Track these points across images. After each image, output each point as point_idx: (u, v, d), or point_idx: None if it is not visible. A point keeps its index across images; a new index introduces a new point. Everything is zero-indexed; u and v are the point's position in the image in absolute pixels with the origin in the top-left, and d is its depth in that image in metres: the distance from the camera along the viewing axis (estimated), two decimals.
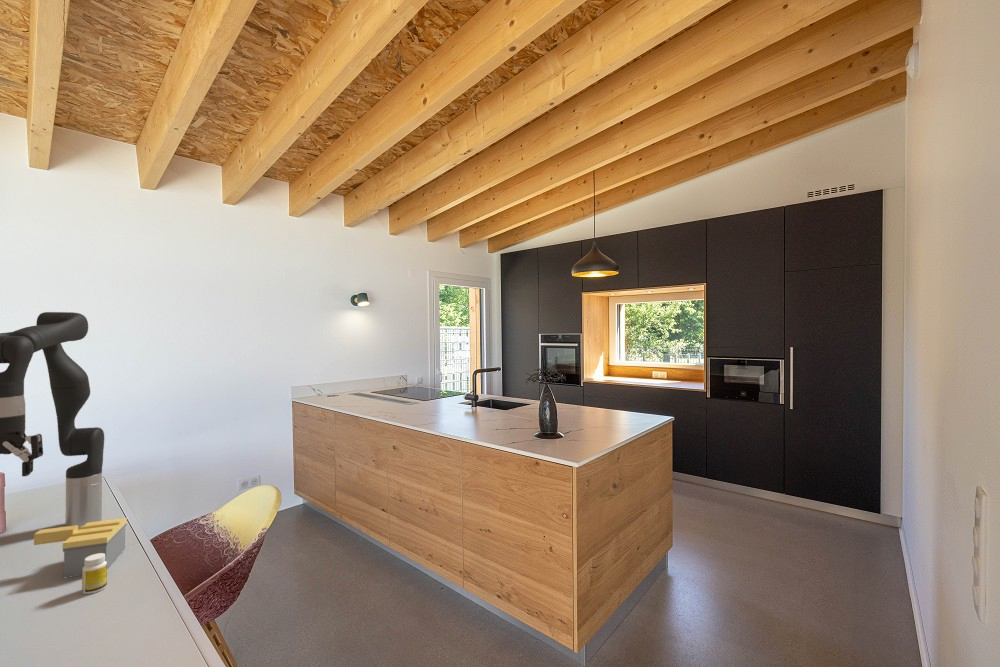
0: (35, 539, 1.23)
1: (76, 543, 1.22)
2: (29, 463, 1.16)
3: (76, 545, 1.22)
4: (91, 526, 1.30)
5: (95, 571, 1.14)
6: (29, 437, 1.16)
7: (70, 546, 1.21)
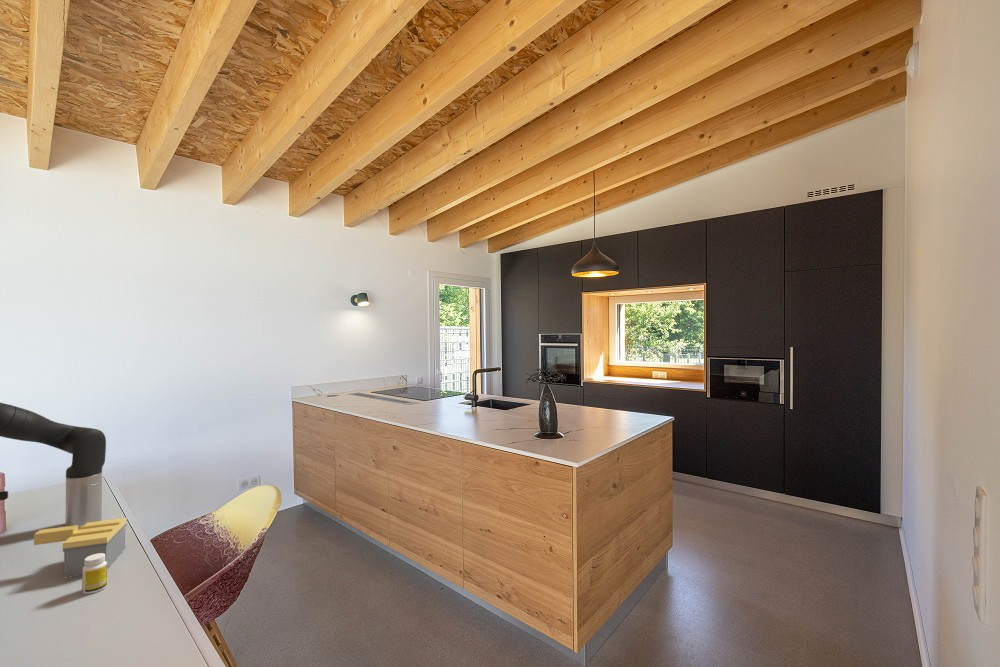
0: (35, 539, 1.23)
1: (76, 543, 1.22)
2: None
3: (76, 545, 1.22)
4: (91, 526, 1.30)
5: (95, 571, 1.14)
6: None
7: (70, 546, 1.21)
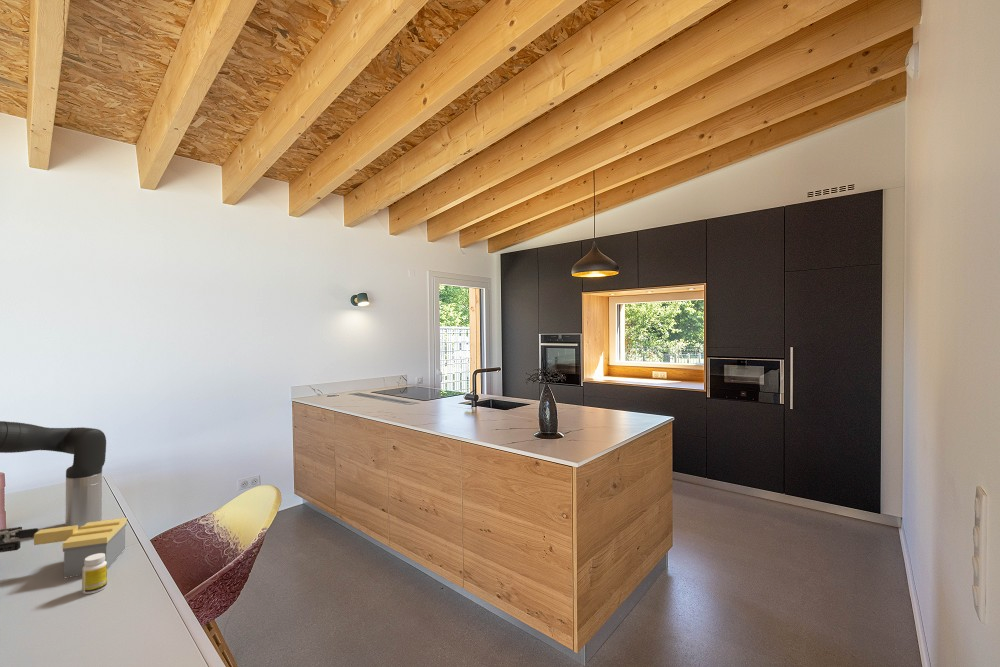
0: (35, 539, 1.23)
1: (76, 543, 1.22)
2: (1, 551, 1.17)
3: (76, 545, 1.22)
4: (91, 526, 1.30)
5: (95, 571, 1.14)
6: None
7: (70, 546, 1.21)
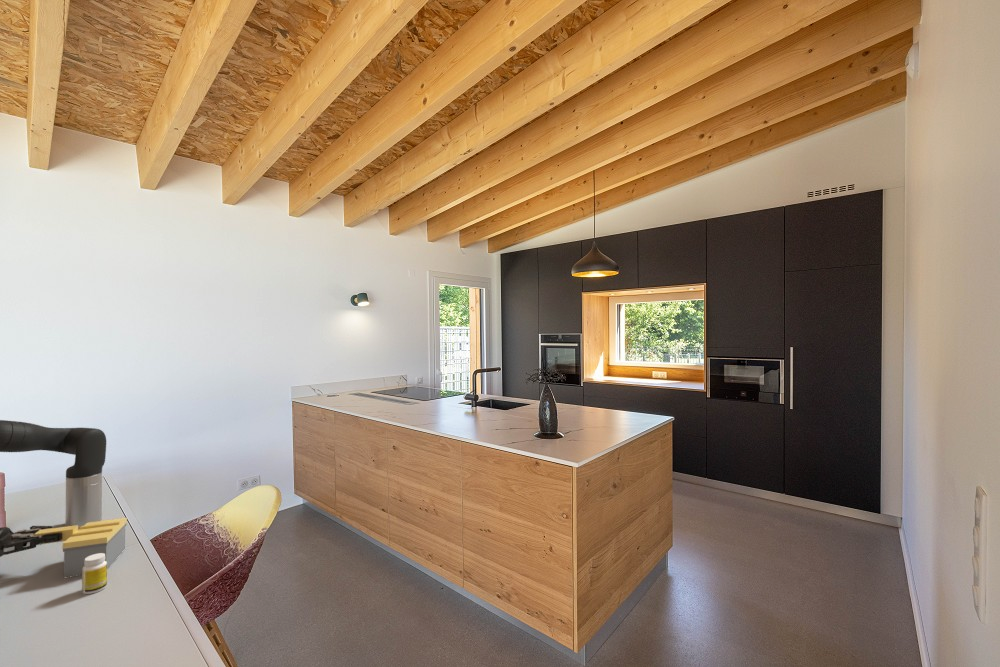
0: None
1: (76, 543, 1.22)
2: (44, 542, 1.23)
3: (76, 545, 1.22)
4: (91, 526, 1.30)
5: (95, 571, 1.14)
6: None
7: (70, 546, 1.21)
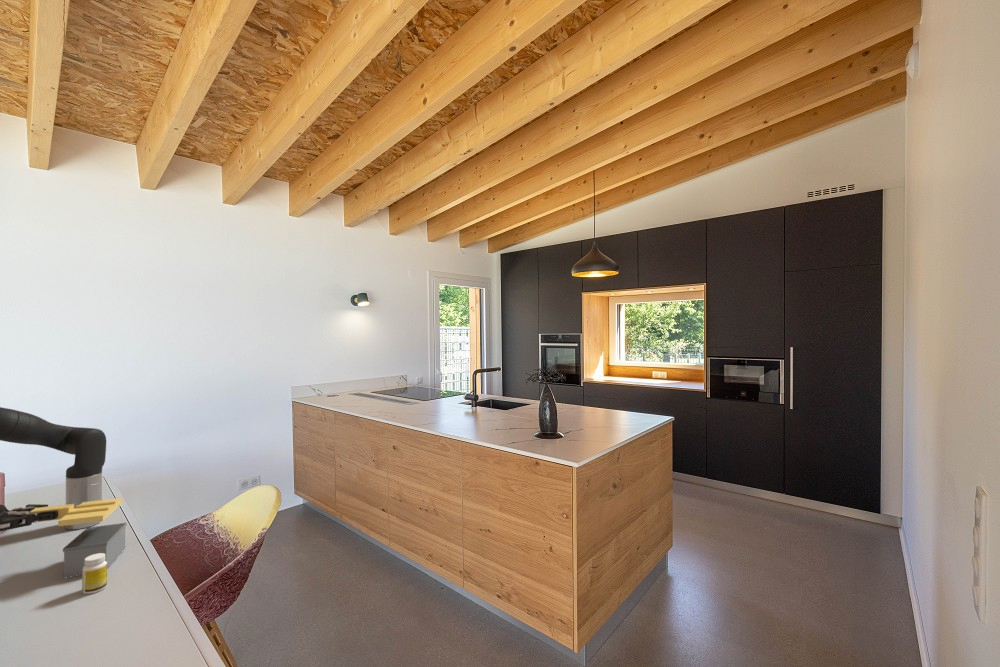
0: None
1: (72, 521, 1.21)
2: (40, 520, 1.22)
3: (72, 523, 1.21)
4: (87, 505, 1.30)
5: (95, 571, 1.14)
6: None
7: (66, 524, 1.21)
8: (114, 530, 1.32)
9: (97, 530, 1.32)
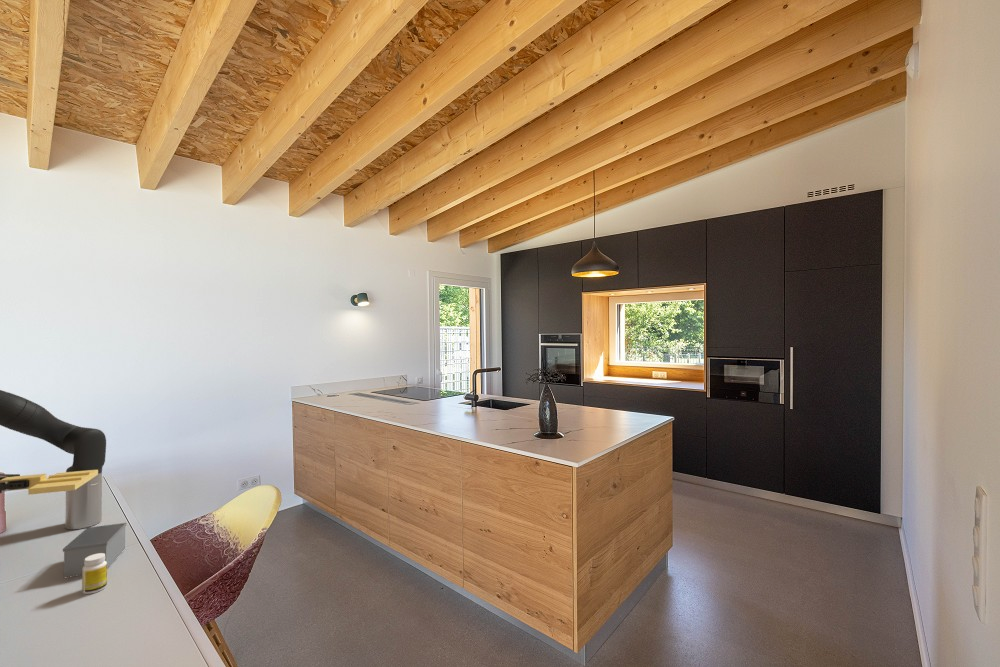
0: None
1: (43, 489, 1.19)
2: (10, 488, 1.20)
3: (43, 491, 1.19)
4: (60, 475, 1.28)
5: (95, 571, 1.14)
6: None
7: (37, 492, 1.19)
8: (114, 530, 1.32)
9: (97, 530, 1.32)
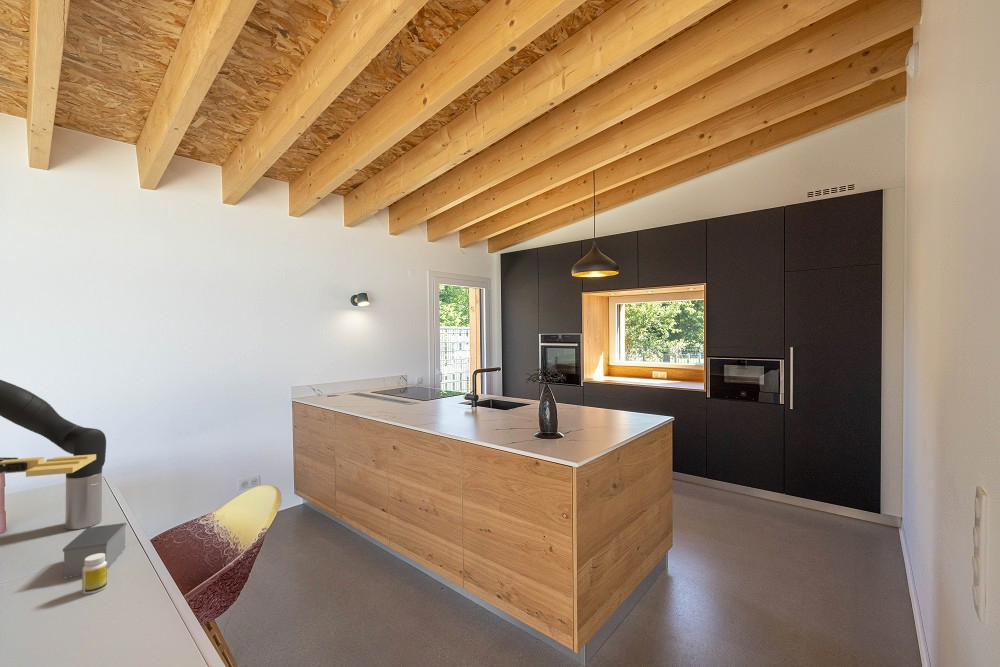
0: None
1: (40, 472, 1.19)
2: (8, 471, 1.20)
3: (40, 474, 1.19)
4: (58, 459, 1.28)
5: (95, 571, 1.14)
6: None
7: (34, 474, 1.19)
8: (114, 530, 1.32)
9: (97, 530, 1.32)
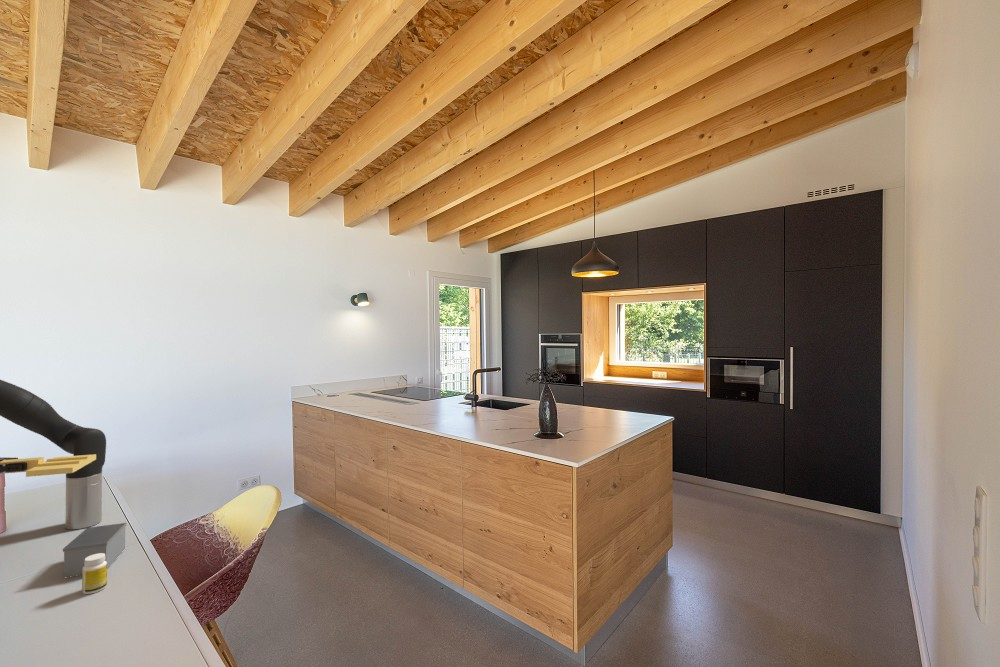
0: None
1: (40, 472, 1.19)
2: (8, 471, 1.20)
3: (40, 474, 1.19)
4: (58, 459, 1.28)
5: (95, 571, 1.14)
6: None
7: (34, 474, 1.19)
8: (114, 530, 1.32)
9: (97, 530, 1.32)
